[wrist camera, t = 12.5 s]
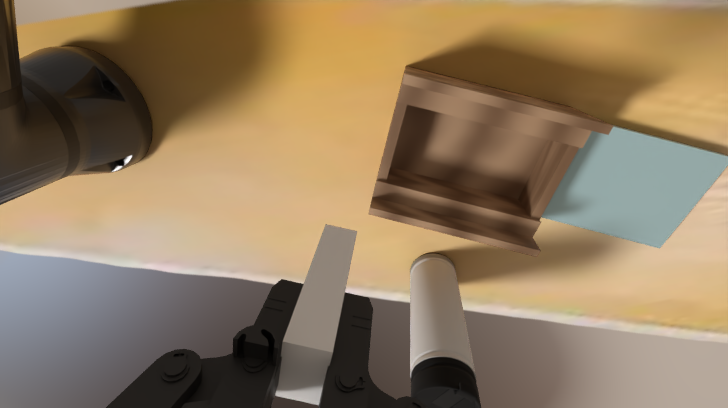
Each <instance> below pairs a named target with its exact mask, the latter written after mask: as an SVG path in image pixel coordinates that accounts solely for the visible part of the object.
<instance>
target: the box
mask: <svg viewBox="0 0 728 408" xmlns="http://www.w3.org/2000/svg"><path fill="white" fill-rule="evenodd" d="M612 128H613V125H611V124H608V123H606V122H604V121H602V120H599V119H597V118H595V117H593V116H590V115H588V114H586V113H583V112H581V111H579V110H577V109H574V108H572V107H570V106H566V105H562V104H558V103H554V102H549V101H545V100H541V99H537V98H533V97H529V96H525V95H521V94H517V93H513V92H509V91H505V90H501V89H497V88H493V87H489V86H485V85H481V84H477V83H473V82H469V81H465V80H461V79H457V78H453V77H449V76H445V75H441V74H437V73H433V72H429V71H425V70H420V69H416V68H412V67H408V66H406V67H405V71H404V75H403V79H402V83H401V87H400V91H399V95H398V99H397V102H396V106H395V110H394V114H393V118H392V122H391V126H390V130H389V133H388V137H387V141H386V145H385V149H384V153H383V157H382V161H381V165H380V168H379V172H378V176H377V180H376V184H375V188H374V193H373V197H372V201H371V205H370V210H369V214H370V215H374V216H378V217H381V218H385V219H389V220H393V221H397V222H401V223H405V224H409V225H413V226H417V227H421V228H425V229H429V230H433V231H437V232H441V233H445V234H449V235H452V236H456V237H460V238H464V239H468V240H472V241H476V242H480V243H484V244H488V245H492V246H496V247H500V248H504V249H508V250H512V251H516V252H520V253H524V254H527V255H531V256H535V257H537V256H538V254H539V253H540V249H539V247H538V246H537V244H536V242H535V241H534V239H533V236H534V234H535V232H536V230H537V229H538V227H539V225H540V223H541V222H540V218H541V216H542V214H543V213H544V211H545V209H546V207H547V205H548V204H549V202H550V200H551V198H552V196H553V194H554V193H555V191H556V189H557V187H558V185H559V184H560V182H561V180H562V178H563V176H564V175H565V173H566V171H567V169H568V167H569V166H570V164H571V162H572V160H573V158H574V157H575V155H576V153H577V151H578V149H579V148H583V146H584V144H585V143H586V141H587V139H588V137H589V136H590V134H591V132H592V131H594V132H598V133H602V134H606V135H609V133H610V132H611V130H612Z"/></svg>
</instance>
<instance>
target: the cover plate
mask: <svg viewBox="0 0 728 408" xmlns="http://www.w3.org/2000/svg"><path fill="white" fill-rule="evenodd" d="M727 166H728V156H727V155H724V154H722V153H718V152H714V151H710V150H706V149H702V148H699V147H695V146H691V145H687V144H683V143H680V142H676V141H672V140H668V139H664V138H660V137H657V136H653V135H649V134H645V133H641V132H638V131H634V130H630V129H626V128H622V127H619V126H615V125H613V128H612V130H611V132H610V133H609V135H606V134H602V133H598V132H594V131H592V132H591V134H590V136H589V137H588V139H587V141H586V143H585V144H584V146H583V148H579V149H578V151H577V153H576V155H575V157H574V158H573V160H572V162H571V164H570V166H569V167H568V169H567V171H566V173H565V175H564V176H563V178H562V180H561V182H560V184H559V185H558V187H557V189H556V191H555V193H554V194H553V196H552V198H551V200H550V202H549V204H548V205H547V207H546V209H545V211H544V213H543V214H542V216H541V217H543V218H546V219H550V220H554V221H558V222H562V223H565V224H569V225H573V226H577V227H581V228H584V229H588V230H592V231H596V232H600V233H603V234H607V235H611V236H615V237H619V238H622V239H626V240H630V241H634V242H638V243H641V244H645V245H649V246H653V247H657V248H660V247H661V246H662V245H663V244H664V243H665V241H666V240H667V239H668V238H669V236H670V235H671V234H672V233H673V232H674V230H675V229H676V228H677V227H678V225H679V224H680V223H681V222H682V221H683V219H684V218H685V217H686V216H687V214H688V213H689V212H690V211H691V210H692V208H693V207H694V206H695V205H696V204H697V202H698V201H699V200H700V199H701V197H702V196H703V195H704V194H705V193H706V191H707V190H708V189H709V188H710V186H711V185H712V184H713V183H714V182H715V180H716V179H717V178H718V177H719V175H720V174H721V173H722V172H723V171H724V169H725V168H726V167H727Z"/></svg>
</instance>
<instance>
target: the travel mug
mask: <svg viewBox="0 0 728 408" xmlns="http://www.w3.org/2000/svg"><path fill="white" fill-rule="evenodd" d="M410 317H411V318H410V345H411V346H410V369H411V373H410V377H411V397H413V398H416V399H418V400H419V401H421V402H423V403H424V404H425V405H426V407H427V408H481V404H480V399H479V393H478V388H477V385H476V374H475V371H474V365H473V359H472V354H471V349H470V343H469V338H468V333H467V328H466V323H465V317H464V313H463V307H462V302H461V297H460V291H459V286H458V281H457V276H456V271H455V267H454V264H453V263H452V261H451V260H450V259H448V258H447V257H445V256H443V255H440V254H435V253H431V254H425V255H422V256H420V257H419V258H417V259H416V260H415V261H414V262H413V264H412V266H411V270H410Z"/></svg>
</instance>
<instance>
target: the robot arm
mask: <svg viewBox="0 0 728 408" xmlns="http://www.w3.org/2000/svg"><path fill="white" fill-rule="evenodd" d="M151 139H152V124H151V118H150V114H149V111H148V108H147V106H146V103H145V101H144V99H143V97H142V95H141V93H140V92H139V90H138V89H137V87H136V86H135V84H134V83H133V82H132V80H131V79H130V78H129V77H128V76H127V75H126V74H125V73H124V72H123V71H122V70H121V69H120V68H119V67H118V66H117V65H115V64H114V63H113V62H112V61H110V60H109V59H107V58H106V57H104V56H102V55H100V54H98V53H96V52H94V51H91V50H89V49H85V48H81V47H75V46H65V47H49V48H44V49H40V50H38V51H35V52H33V53H31V54H29V55H27V56H25V57H23V58H21V59H19V51H18V40H17V29H16V18H15V7H14V0H0V205H1V204H3V203H6V202H8V201H10V200H13V199H15V198H17V197H20V196H22V195H24V194H27V193H29V192H31V191H34V190H36V189H38V188H41V187H43V186H45V185H48V184H50V183H52V182H55V181H57V180H59V179H62V178H64V177H67V176H73V175H86V174H99V173H111V172H115V171H119V170H122V169H124V168H126V167H129V166H131V165H133V164H135V163H137V162H138V161H140V160H141V159H142V158H143V157H144V156H145V154H146V153H147V151H148V149H149V147H150V143H151ZM356 234H357V231H354V230H349V229H345V228H340V227H336V226H331V225H327V224H326V225H325V228H324V231H323V233H322V236H321V239H320V241H319V244H318V247H317V250H316V252H315V255H314V258H313V260H312V263H311V266H310V269H309V271H308V274H307V277H306V279H305V282H304V284H301V283H296V282H292V281H287V280H283V279H281V280H280V281H279V282H278V283H277V284H275V285H274V286H273V287H272V289H271V291H270V293H269V295H268V297H267V300H266V301H265V303H264V305H263V308H262V309H261V311H260V314H259V315H258V317H257V319H256V322H255V324H254V325H253V326H249V327H246V328H244V329H243V330H241V331H239V332H238V333H237V335H236V336H235V337H234V338H233V353H232V354H229V355H227V356H223V357H217V358H207V359H200V356H199V355H197V354H196V353H195V352H194V351H191V350H187V349H179V350H174V351H171V352H168V353H166V354H164V355H163V356H161V357H160V358H159V359H157V360H156V361H155V362H154V363H153V364H152V365H151V366H150V367H148V369H146V370H145V371H144V372H143V373H142V374H141V375H140V376H139V377H138V378H137V379H136V380H135V381H134V382H133V383H132V384H130V385H129V386H128V387H127V388H126V389H125V390H124V391H123V392H122V393H121V394H120V395H119V396H118V397H117V398H116V399H115V400H114V401H112V402H111V403H110V404H109V405H108V406H107V407H106V408H271V405H272V402H273V399H274V396H275V393H276V396H279V397H284V398H289V399H293V400H298V401H303V402H307V403H312V404H317V405H319V407H318V408H427V407H426V405H425V404H424V403H423V402H421V401H419V400H418V399H416V398H413V397H407V396H406V397H402V398H398V399H397V400H396V399H394V398H393V397H391V396H389V395H387V394H386V393H384V392H383V391H381V390H380V389H379V388H378V387H377V386H376V385H375V384H374V383H373V382H372V380H371V378H370V375H369V372H368V360H369V348H370V337H371V326H372V325H371V324H372V314H373V307H372V305H371V302H370V300H369V298H368V297H363V296H359V295H354V294H350V293H345V289H346V284H347V279H348V274H349V269H350V264H351V259H352V254H353V249H354V244H355V239H356Z"/></svg>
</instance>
